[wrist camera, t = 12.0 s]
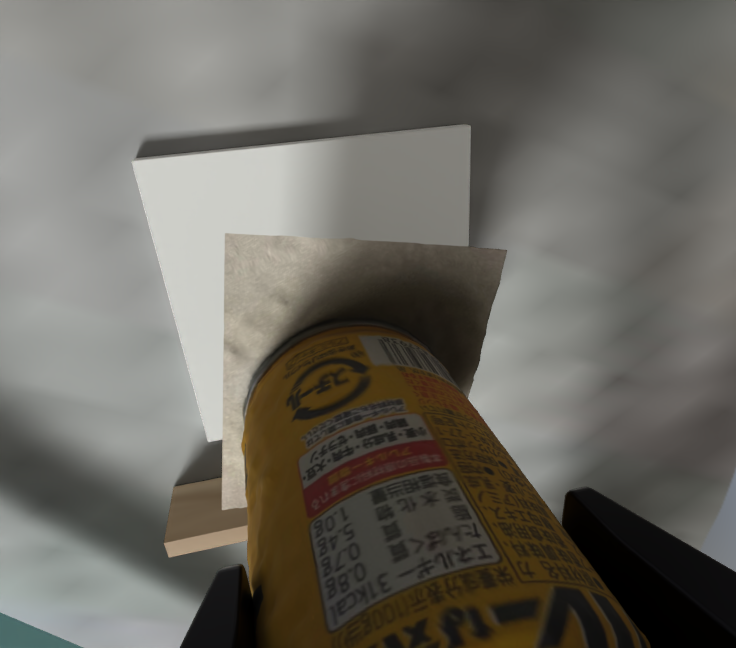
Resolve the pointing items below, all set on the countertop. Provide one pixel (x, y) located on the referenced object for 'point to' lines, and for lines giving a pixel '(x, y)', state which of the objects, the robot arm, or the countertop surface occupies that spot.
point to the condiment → (386, 458)
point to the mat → (292, 216)
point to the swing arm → (28, 636)
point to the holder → (202, 519)
